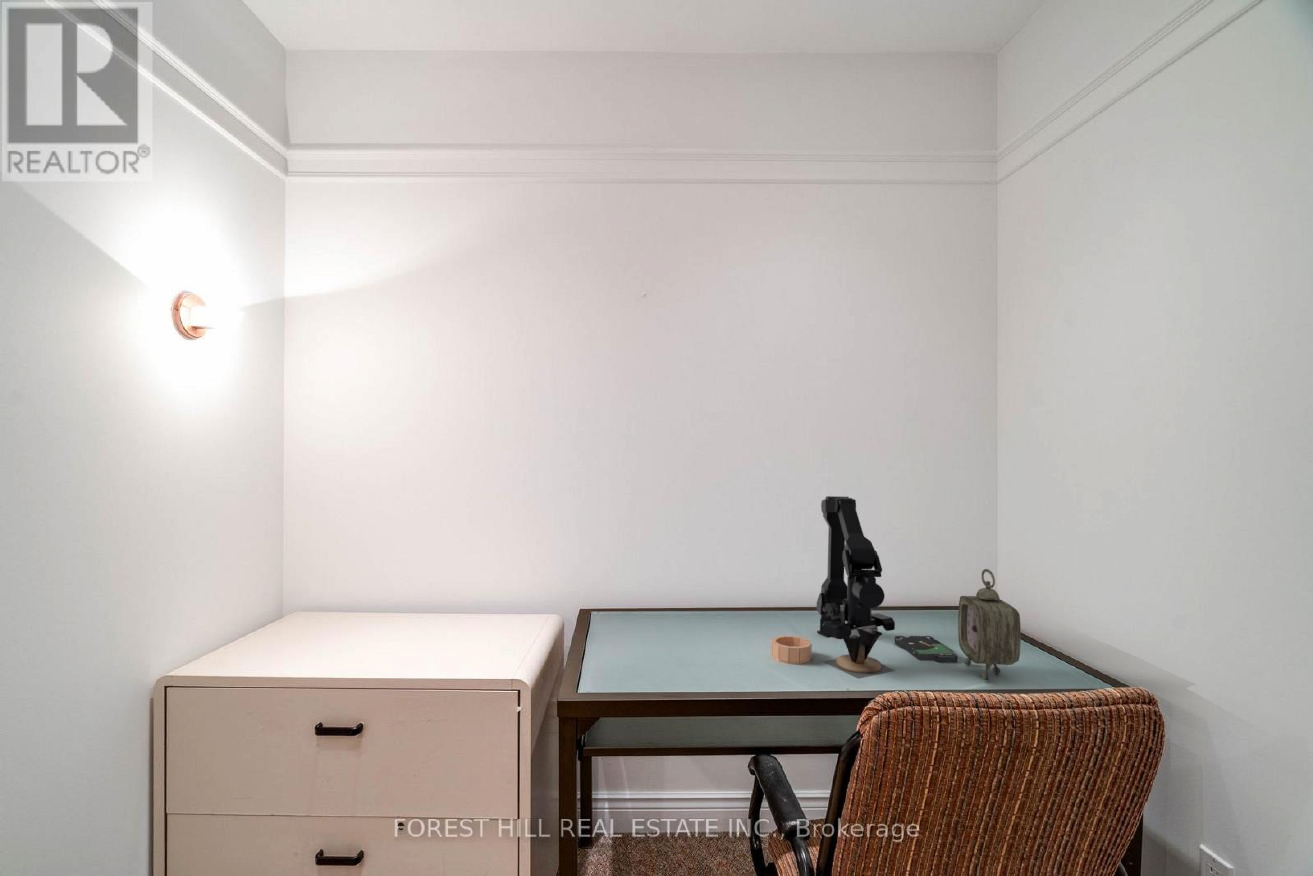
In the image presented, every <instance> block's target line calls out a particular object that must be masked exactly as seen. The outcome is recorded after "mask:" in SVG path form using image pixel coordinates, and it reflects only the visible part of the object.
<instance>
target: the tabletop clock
mask: <svg viewBox="0 0 1313 876" xmlns="http://www.w3.org/2000/svg"><path fill="white" fill-rule="evenodd" d="M985 573H988V574H989V575H990V577H991V579H992V580H991V581H992V584H991V581H989V580H986V581H985V577H984V575H985ZM981 581H982V583H983V585H984V586H985V587H983V588H980V589H978V591H977V592H976V594H975V596H974V595H972V596H970V595H961V596H960V597H959V602H958V613H957V614H958V617H957V621H958V623H957V629H958V631H957V634H958V635H957V637H958V645H959V648H960V650H961V651H962V652H963V654H964V655H965V656H966V658H965V659H964V664H965V665H967V666H970V665H971V664H972V662H973V663H975V664H979V665H980V664H981V665H983V664H984V665H985V672H984V673H983V674H982V675H981V679H982V680H983V681H987V682H988V681H989V680H990V676H989V675H988V674H989V671H990V668H991V667H992V666H994V667H993V668H992V672H993V673H994V674H995V675H999V674H1000V673H1001V669H1000V668H999V667H998V665H1003V666H1011V665H1014V664H1015V663H1017V662H1018V661H1019V660H1020V657H1021V656H1020V654H1021V634H1022V633H1021V616H1020V612H1019V611H1018V610H1017V609H1016V608H1015V607H1014V606H1012V604H1010V603H1008V602H1006V601H1004V600H1002V599H1001V598H1000V596H999V595H1000V594H999V593H998V592H997V590H995V589H993V588H994V587H995V584H996V577H995V575H994V573H993V571H991V570H990V569H988V568H984V569H983V570H982V571H981Z"/></svg>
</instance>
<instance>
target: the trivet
mask: <svg viewBox="0 0 1313 876" xmlns="http://www.w3.org/2000/svg"><path fill="white" fill-rule="evenodd" d="M836 659H837V658H835V659H830V660H823V661H822V663H824V664H826V665H829V666H831V667H832V668H834V669H837V670H839V671H840V672H841V671H842V672H843V673H846V674H847V675H849V676H852V677H855V678H857V679H862V678H865V677H866V678H868V677H872V676H877V675H880V674H886V673H890V672H893V671H896V669H893V668H891V667H889V666H886V665H884V664H882V663H881V670H880V671H879V672H877V673H871V674H860V673H853V672H849V671H846V670H843V669H841V668H839V667H838V666H837V664H836Z"/></svg>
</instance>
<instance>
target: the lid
mask: <svg viewBox="0 0 1313 876" xmlns="http://www.w3.org/2000/svg"><path fill="white" fill-rule="evenodd" d="M835 659H836V664H837V666H838V667H839V668H841V669H843V670H846V671H849V672H853V673H860V674H871V673H877V672H879V671H880V670H881V664H882V662H881V661H880V660H878V659H876V658H874V657H870V656H869V655H868V656H867V658H866V660H865V646H864V645H863V644H860V647H859V652H858V656H857V660H856V662H852V661H851V658H850V655H849V654H842V655H839V656H837V657H836V658H835Z"/></svg>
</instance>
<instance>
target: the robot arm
mask: <svg viewBox="0 0 1313 876" xmlns="http://www.w3.org/2000/svg"><path fill="white" fill-rule="evenodd" d="M820 507H821V513H822V517H823V519H824V521H825V522H826V524H827V526H828V537H827V539H828V541H827V543H828V545H827V546H828V547H827V576H826V579H824V581H823V582H822V584H821V588H820V590H821V591H820V592H819V594H818V597H817V600H816V611H817V613H818V614H819V615H820V619H819V630H817V631H816V633H817V634H820V635H822V636H824V637H827V638H833V639H836V640H843V641H844V644H845V647H846V648H847V651H848V655H850V658H851V661H852V662H856V660H857V656H858V652H859V647H860V644H863V645H864V646H865V660H866V658H867V656H868V657H869V655H870V653H871V651H872V649H873V647H874V646H875V644H876V643H877V641H878V640H879V638H880V636H882V635H883V632H881V631H879V628H878V627H882V628H883V630H885V631H886V632H890V631H894V630H895V629H896V628H895V627H896V623H895V621H894V618H893V617H891V616H889V615H886V614H882V613H872V609H875V608H877V607H880V606H881V605H882V604H883V602H884V600H885V591H884V590H883V588H882V587H881V585H880V584H878V583H877V578H882V572H883V568H882V567H883V566H882V563H881V560H880V556H879V555H878V551H877V550H875V548H874V545H873V543H872V541H871V540H869V539H868V538H867V537H866V536H865V534H864V532H863V528H862V525H861V521H860V518H859V514H858V512H857V501H856V499H855V498H853V497H849V496H838V495H837V496H834V495H833V496H831V495H830V496H828V495H827V496H826V497H825V498H824V499H822V500H821V504H820ZM845 573H846V576H847V579H846V580H847V583H846V581H845ZM858 634H859V635H858Z"/></svg>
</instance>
